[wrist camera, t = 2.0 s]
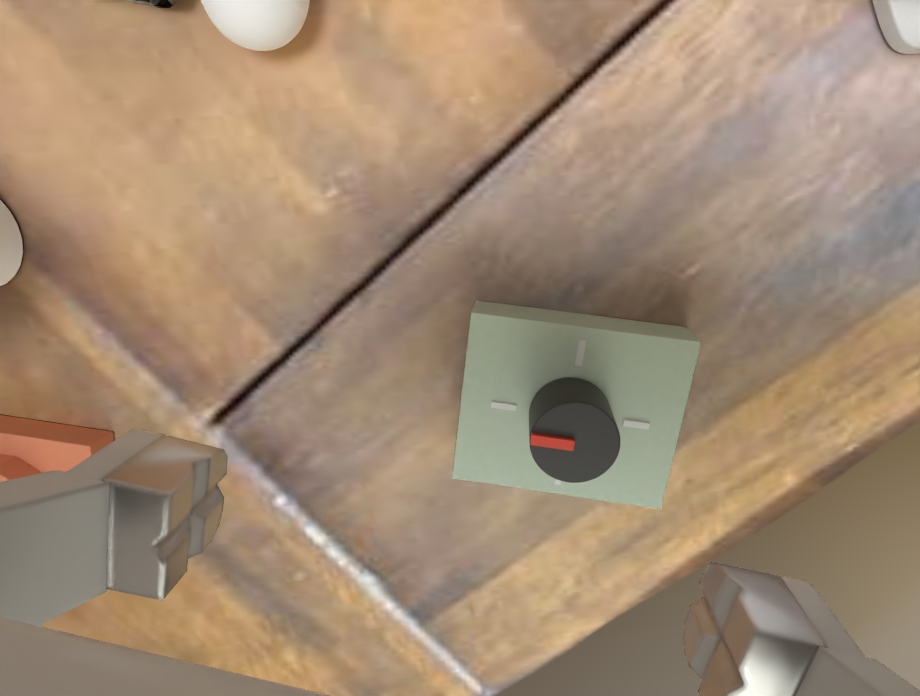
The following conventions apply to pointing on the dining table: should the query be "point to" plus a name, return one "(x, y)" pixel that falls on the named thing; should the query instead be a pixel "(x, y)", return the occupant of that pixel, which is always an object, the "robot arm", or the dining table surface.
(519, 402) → the panel
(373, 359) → the dining table surface
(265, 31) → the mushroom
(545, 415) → the dial
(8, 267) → the cup
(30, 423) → the button base
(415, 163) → the dining table surface
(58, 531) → the robot arm
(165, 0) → the wristwatch
